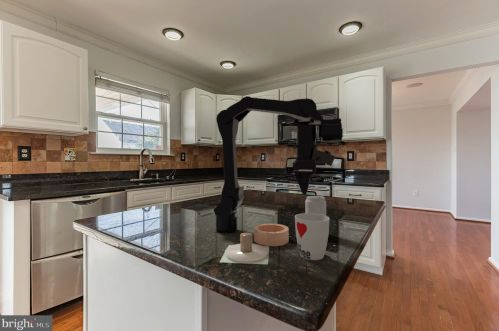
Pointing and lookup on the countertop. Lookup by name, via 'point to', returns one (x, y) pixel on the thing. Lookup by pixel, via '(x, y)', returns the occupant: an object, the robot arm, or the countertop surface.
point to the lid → (246, 250)
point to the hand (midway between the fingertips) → (305, 192)
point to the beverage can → (315, 205)
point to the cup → (312, 235)
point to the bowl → (271, 234)
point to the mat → (263, 261)
